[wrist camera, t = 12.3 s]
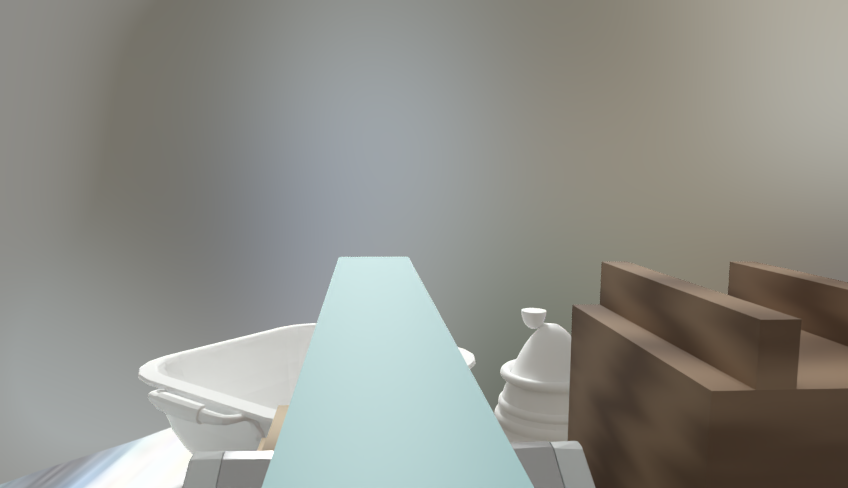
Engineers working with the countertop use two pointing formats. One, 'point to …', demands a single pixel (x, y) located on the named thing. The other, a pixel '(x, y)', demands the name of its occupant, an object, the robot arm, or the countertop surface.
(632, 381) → the end cap post
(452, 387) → the teal block
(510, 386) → the honey pot
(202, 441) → the baking dish
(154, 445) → the countertop surface
